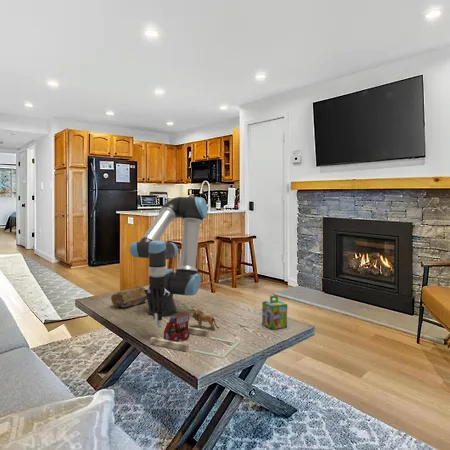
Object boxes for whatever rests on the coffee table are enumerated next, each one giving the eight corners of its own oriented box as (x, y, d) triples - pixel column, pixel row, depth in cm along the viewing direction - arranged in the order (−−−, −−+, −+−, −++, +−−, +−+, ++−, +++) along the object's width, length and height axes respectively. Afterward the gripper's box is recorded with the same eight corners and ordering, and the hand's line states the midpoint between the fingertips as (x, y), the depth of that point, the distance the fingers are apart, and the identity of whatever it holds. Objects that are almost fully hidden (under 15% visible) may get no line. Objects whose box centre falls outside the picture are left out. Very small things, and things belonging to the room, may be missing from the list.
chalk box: (272, 330, 170) (272, 299, 169) (261, 324, 178) (261, 295, 177) (287, 327, 174) (288, 297, 173) (276, 321, 182) (277, 292, 181)
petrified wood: (125, 310, 199) (121, 292, 199) (109, 311, 206) (106, 294, 206) (149, 300, 215) (146, 284, 215) (134, 301, 222) (131, 286, 222)
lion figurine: (188, 327, 173) (188, 309, 173) (193, 324, 178) (193, 306, 178) (217, 331, 169) (217, 312, 168) (221, 327, 174) (221, 309, 173)
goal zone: (192, 351, 146) (192, 351, 146) (211, 337, 161) (211, 337, 161) (223, 358, 140) (223, 357, 140) (240, 342, 155) (240, 342, 155)
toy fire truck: (160, 340, 158) (160, 317, 157) (184, 333, 166) (184, 311, 165) (168, 345, 153) (168, 321, 152) (192, 338, 160) (192, 315, 160)
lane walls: (150, 344, 154) (150, 338, 153) (175, 329, 171) (175, 324, 171) (186, 351, 146) (186, 345, 146) (208, 335, 163) (208, 330, 163)
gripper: (140, 275, 161) (141, 327, 162) (164, 278, 155) (164, 331, 157) (150, 272, 168) (151, 322, 169) (174, 275, 162) (174, 326, 164)
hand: (157, 326), depth 163 cm, fingers closed
